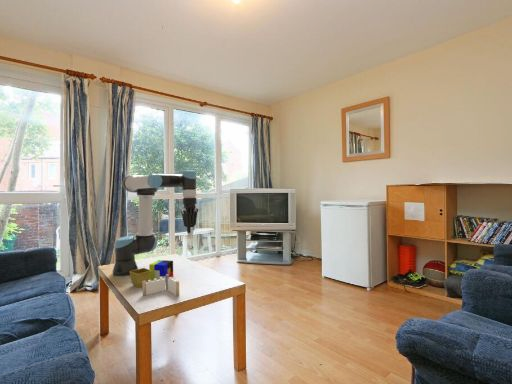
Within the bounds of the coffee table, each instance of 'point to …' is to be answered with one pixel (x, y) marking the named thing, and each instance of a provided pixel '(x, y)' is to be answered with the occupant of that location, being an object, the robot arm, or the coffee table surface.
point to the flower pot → (140, 276)
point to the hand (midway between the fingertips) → (190, 238)
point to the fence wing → (173, 286)
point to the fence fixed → (154, 285)
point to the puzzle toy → (161, 269)
